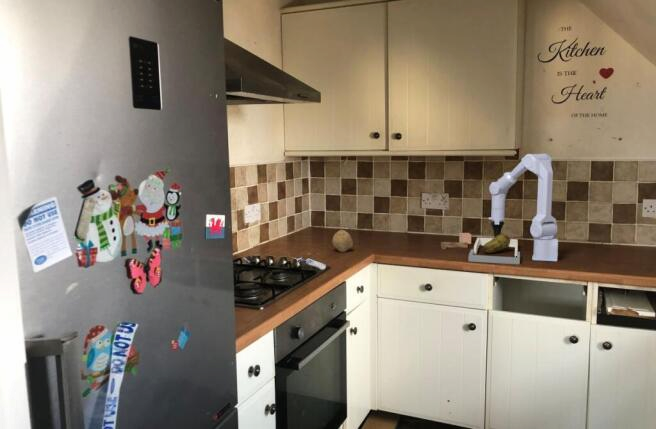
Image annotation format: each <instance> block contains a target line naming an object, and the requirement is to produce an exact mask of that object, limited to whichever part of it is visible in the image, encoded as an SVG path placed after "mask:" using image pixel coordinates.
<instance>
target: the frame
mask: <svg viewBox="0 0 656 429" xmlns="http://www.w3.org/2000/svg"><path fill="white" fill-rule="evenodd" d="M468 262H474V263H488V264H489V263H491V264H507V265H520V262H521V252H520V251H517V257H516V256H514V257H512V256H499V255H497V256H496V255H495V256H494V255H479V254H474V248H471V249H470V250H469V253H468Z"/></svg>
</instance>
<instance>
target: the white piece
mask: <svg viewBox="0 0 656 429" xmlns="http://www.w3.org/2000/svg"><path fill="white" fill-rule="evenodd" d="M493 238H494V237H477V238H476V240H475V243H474V246H473V249H474V255H477V253H478V250H479V248H480V246H484V244H486V243H487V242H489V241H491V240H492V239H493ZM518 242H519V240H518V239H517V238H515V239H514V238H510V244H509V247H510V248H514V257H516V256H517V252H518V250H519V249H518V245H519V244H518ZM509 247H508V248H509Z"/></svg>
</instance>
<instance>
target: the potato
mask: <svg viewBox="0 0 656 429" xmlns="http://www.w3.org/2000/svg"><path fill="white" fill-rule="evenodd" d="M492 238H493V239H492V240H491V241H489V242H487V243H486V244H484V245H482V251H483V252H484V253H485V254H494V253H497V252H500V251H502V250H503V249H506V248H509V244H510V239H511V238H510V236H509V235H507V234H503V233H502V234H501V233H500V235H498V236H496V237H494V236H493V237H492Z"/></svg>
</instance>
